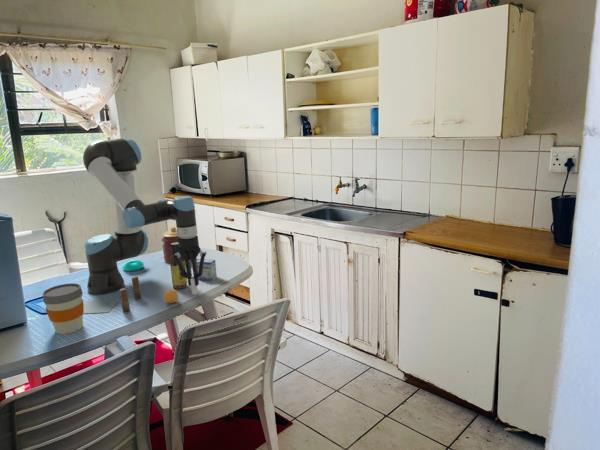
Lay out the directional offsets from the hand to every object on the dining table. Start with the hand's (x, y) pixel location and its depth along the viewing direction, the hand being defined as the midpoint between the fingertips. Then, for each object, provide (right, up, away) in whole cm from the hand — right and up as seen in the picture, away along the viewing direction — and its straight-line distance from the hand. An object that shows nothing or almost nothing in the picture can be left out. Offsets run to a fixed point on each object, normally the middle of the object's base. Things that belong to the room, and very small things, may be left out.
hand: (194, 293), depth 179 cm
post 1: (-26, -6, -5) cm, 27 cm away
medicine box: (-1, +2, +26) cm, 26 cm away
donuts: (-41, +5, +45) cm, 62 cm away
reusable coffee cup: (-42, -10, -17) cm, 46 cm away
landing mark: (-40, -5, +2) cm, 40 cm away
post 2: (-26, -3, +8) cm, 27 cm away
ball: (-10, -1, +1) cm, 10 cm away
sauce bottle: (-11, 0, +18) cm, 21 cm away
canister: (-22, +9, +56) cm, 61 cm away
